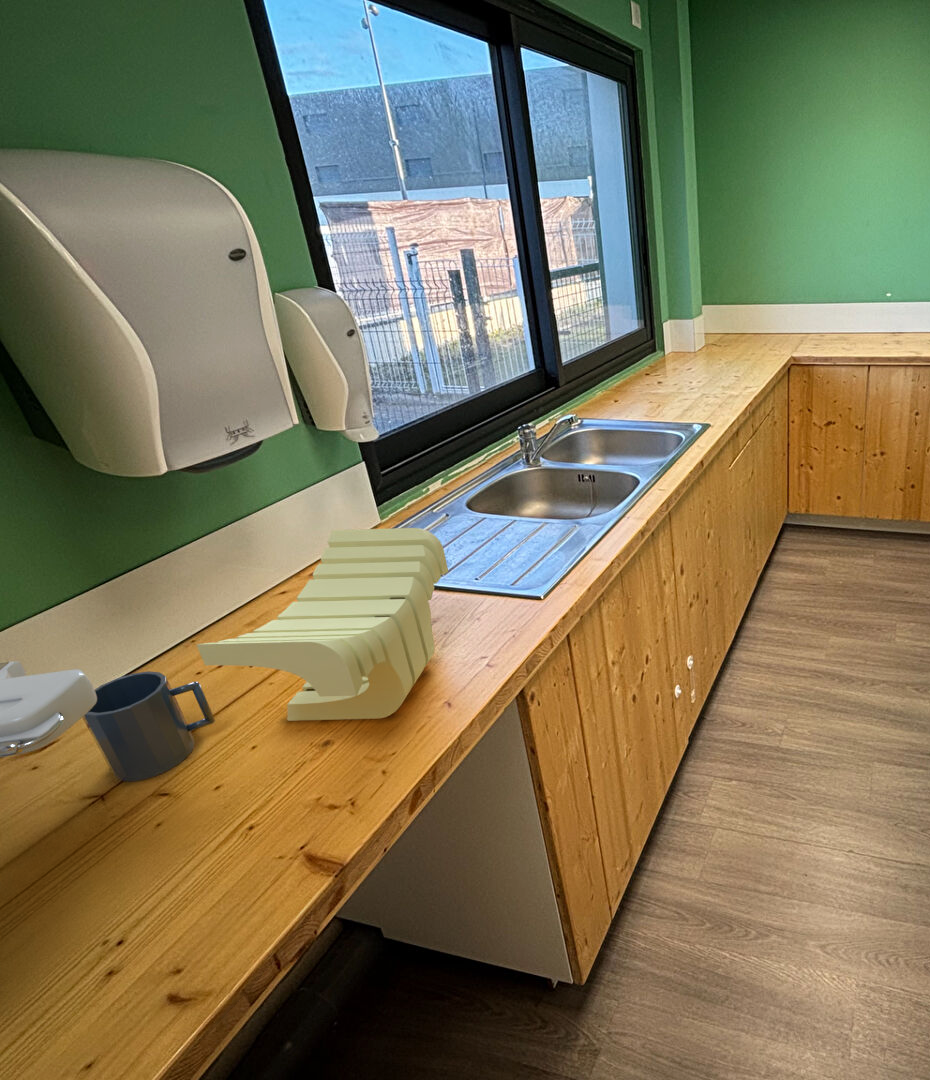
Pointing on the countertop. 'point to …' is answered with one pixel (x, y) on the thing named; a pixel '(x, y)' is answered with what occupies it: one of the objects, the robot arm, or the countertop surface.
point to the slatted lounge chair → (351, 626)
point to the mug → (143, 724)
